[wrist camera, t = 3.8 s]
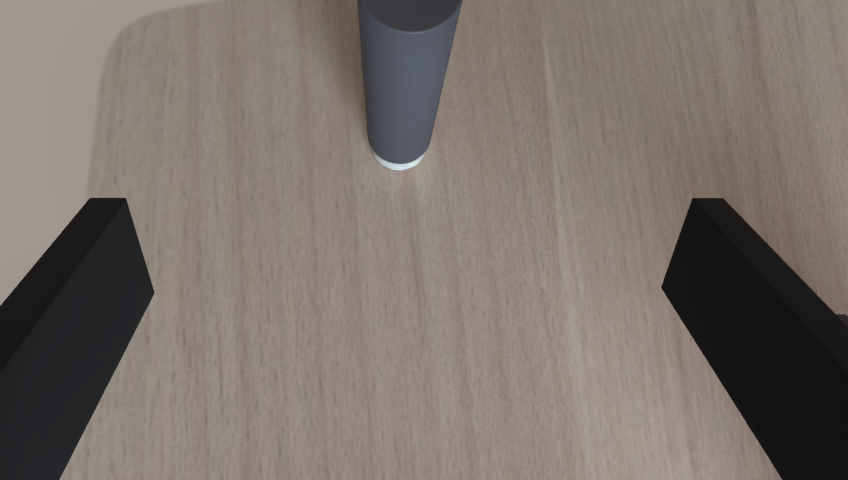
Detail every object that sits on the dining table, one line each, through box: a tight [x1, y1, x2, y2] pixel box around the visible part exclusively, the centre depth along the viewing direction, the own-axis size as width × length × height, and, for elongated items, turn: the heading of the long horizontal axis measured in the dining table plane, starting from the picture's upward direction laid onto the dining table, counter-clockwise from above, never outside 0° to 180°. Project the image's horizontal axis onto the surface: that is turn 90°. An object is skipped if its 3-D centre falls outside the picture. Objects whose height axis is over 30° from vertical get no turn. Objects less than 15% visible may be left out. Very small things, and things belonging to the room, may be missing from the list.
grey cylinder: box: [357, 0, 462, 170], centre depth 21 cm, size 3×3×12 cm
